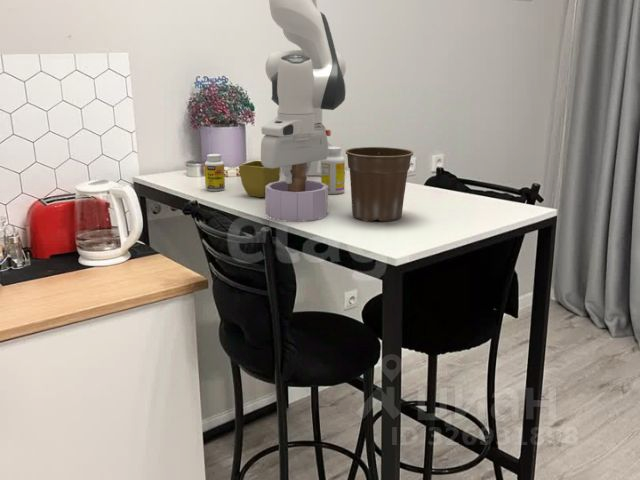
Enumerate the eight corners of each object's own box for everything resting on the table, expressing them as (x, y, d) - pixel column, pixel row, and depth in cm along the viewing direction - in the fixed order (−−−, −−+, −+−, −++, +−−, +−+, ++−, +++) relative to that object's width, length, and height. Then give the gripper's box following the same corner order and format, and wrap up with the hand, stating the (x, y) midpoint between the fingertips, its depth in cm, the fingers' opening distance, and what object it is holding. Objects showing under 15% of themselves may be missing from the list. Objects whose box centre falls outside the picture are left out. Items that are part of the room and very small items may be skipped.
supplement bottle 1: (205, 192, 185) (203, 156, 182) (206, 188, 190) (204, 153, 187) (225, 191, 185) (223, 156, 183) (225, 187, 191) (223, 153, 188)
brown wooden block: (296, 201, 162) (296, 145, 158) (305, 203, 160) (305, 147, 156) (288, 203, 160) (287, 147, 156) (296, 205, 158) (296, 148, 154)
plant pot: (369, 205, 170) (371, 144, 166) (422, 215, 160) (426, 150, 156) (331, 217, 158) (331, 151, 153) (386, 228, 148) (388, 158, 144)
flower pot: (238, 196, 179) (237, 164, 177) (256, 190, 187) (255, 160, 184) (265, 200, 175) (264, 167, 173) (282, 194, 183) (281, 162, 180)
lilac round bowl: (296, 203, 171) (296, 177, 169) (339, 213, 162) (339, 185, 160) (254, 213, 161) (253, 186, 159) (297, 224, 151) (297, 195, 149)
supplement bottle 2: (345, 190, 188) (345, 146, 184) (343, 195, 182) (344, 149, 178) (322, 189, 189) (322, 145, 185) (320, 194, 182) (320, 149, 179)
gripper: (315, 121, 164) (315, 174, 168) (255, 127, 150) (257, 186, 154) (334, 122, 160) (333, 177, 164) (274, 129, 146) (275, 189, 149)
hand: (296, 182), depth 159 cm, fingers closed on brown wooden block, 3 cm apart
